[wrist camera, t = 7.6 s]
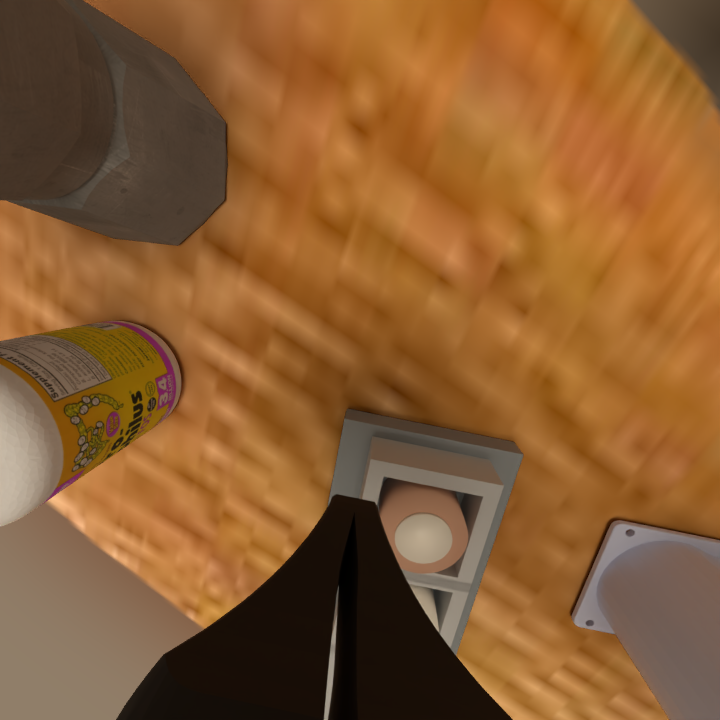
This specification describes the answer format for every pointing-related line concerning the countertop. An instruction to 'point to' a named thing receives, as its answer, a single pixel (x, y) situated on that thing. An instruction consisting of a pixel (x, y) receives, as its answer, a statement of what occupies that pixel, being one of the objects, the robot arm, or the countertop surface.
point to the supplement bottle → (76, 405)
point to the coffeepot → (103, 126)
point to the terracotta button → (422, 525)
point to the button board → (438, 469)
